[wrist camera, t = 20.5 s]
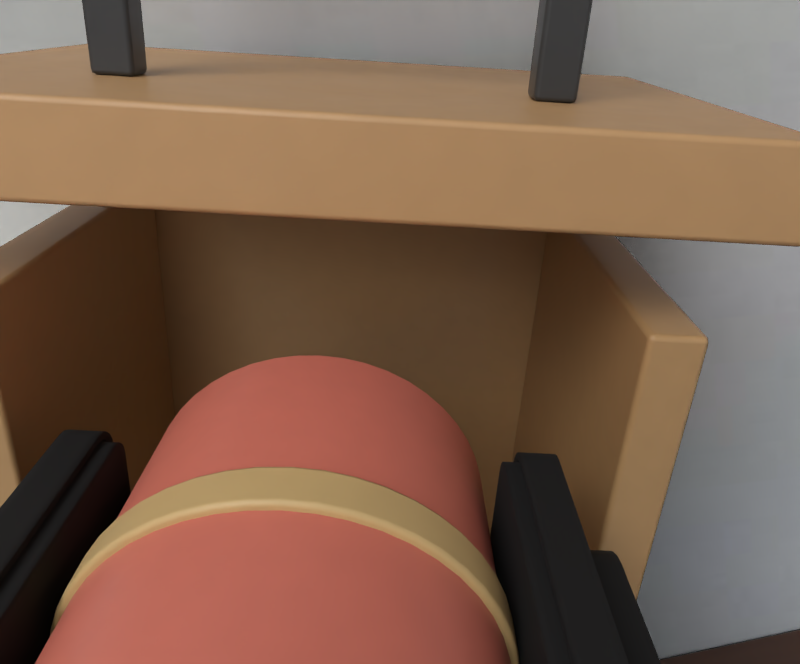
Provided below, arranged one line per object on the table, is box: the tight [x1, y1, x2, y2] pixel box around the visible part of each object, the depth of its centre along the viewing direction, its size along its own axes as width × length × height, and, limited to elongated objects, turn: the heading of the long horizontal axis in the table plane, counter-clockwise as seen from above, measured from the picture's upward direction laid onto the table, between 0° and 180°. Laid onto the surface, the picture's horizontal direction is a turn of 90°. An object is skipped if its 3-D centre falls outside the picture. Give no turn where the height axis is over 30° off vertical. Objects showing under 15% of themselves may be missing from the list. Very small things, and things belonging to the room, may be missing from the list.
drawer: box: [0, 0, 800, 600], centre depth 12 cm, size 19×11×8 cm, turn 177°
